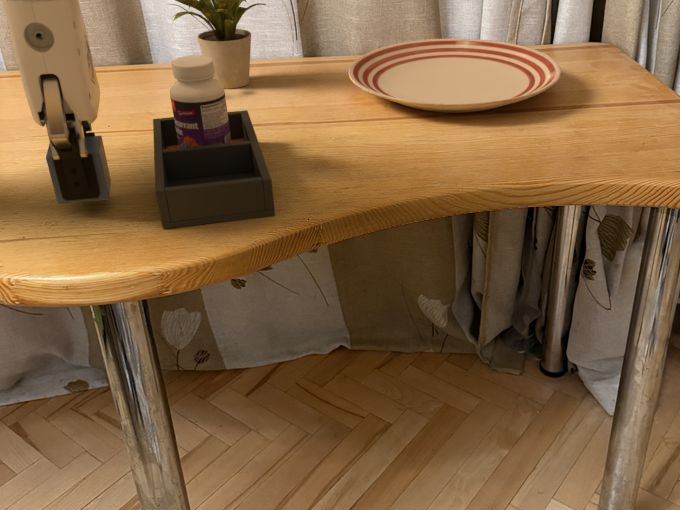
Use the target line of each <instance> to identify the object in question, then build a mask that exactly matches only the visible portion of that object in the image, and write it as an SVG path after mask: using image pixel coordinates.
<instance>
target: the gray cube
mask: <svg viewBox="0 0 680 510" xmlns="http://www.w3.org/2000/svg"><path fill="white" fill-rule="evenodd" d="M85 142H86V147H87V152H88V154H92V158H93V163H94V167H95V172H96V176H97V180H98V185H99V189H100V196H99V197H98V198H92V199H81V200H69V201H66V200H64V199H63V197H62V194H61V190H60V186H59V182H58V179H57V175H56V171H55V167H54V163H53V159H52V158H53V155H52V151H51V146H50V142H48V149H47V151H46V155H45V160H46V164H47V168H48V172H49V177H50V179H51V183H52V186H53V191H54V194H55V200H56V201H57V205H64V204H65V205H66V204H76V203H86V202H99V201H109V200H110V196H111V195H110V194H111V183H112V179H111V174H110V169H109V165H108V160H107V155H106V150H105V144H104V140H103V136H102V135H95V136H88V137H85Z"/></svg>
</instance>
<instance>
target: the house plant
mask: <svg viewBox="0 0 680 510" xmlns="http://www.w3.org/2000/svg"><path fill="white" fill-rule="evenodd" d="M174 1H175V2H178V3H180V4H182V5H185V6H188V9H190V8H193V9H194V10H197V11H199V12H200V13H201V14H199V13H196V12H195V11H189V10H187V9H186V8H184V7H183V6H181V5H178V4H173V3H167V5H168V6H169V5H170V6H171V5H172V6H177V7H179V8H181V9H183V10H184V11H179V12H177V13H175V14H174V15H173V16H172V18H173V17H174V18H173V20H172V23H174V22H175V21H176V20H177V19H179V18H180V17H183V16H185V15H191V16H192V17H193V18H194V19H196V20H197V21H198V22H200V23H201V24H202V25H203V26H204V27H205V28H207V25H208V26H209V28H208V30H206V31H202V32H200V33H198V34H197V37H196V40H197V42H198V46H199V49H200V52H201V56H208V57H210V58H212V59H213V64H214V69H215V75H214V76H213V78H214V79H216V80H218V81H220V82H221V83H222V85H223V87H224V90H225V89H227V90H229V89H231V90H232V89H238V88H242V87H245V86H247V85H249V83H250V69H251V68H250V67H251V50H252V49H251V47H252V46H251V45H252V32H251V31H249V30H246V29H242V28H237V25H238V24H239V22H240V20H241V18H242V17H243V15H244V14H246V12H247V11H248V10H250V9H251V8H253V7H256V6H267V7H269V5H267V3H263V2H262V3H254V4H251V5H249V6H247V7H243V6H241V4H242V3H243V2H245V3H247V0H174ZM197 17H198V18H200V19H202V20H203V21H204V22H206V24H207V25H205V24H204V23H203V21H200V20H199V19H198V18H197Z"/></svg>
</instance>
